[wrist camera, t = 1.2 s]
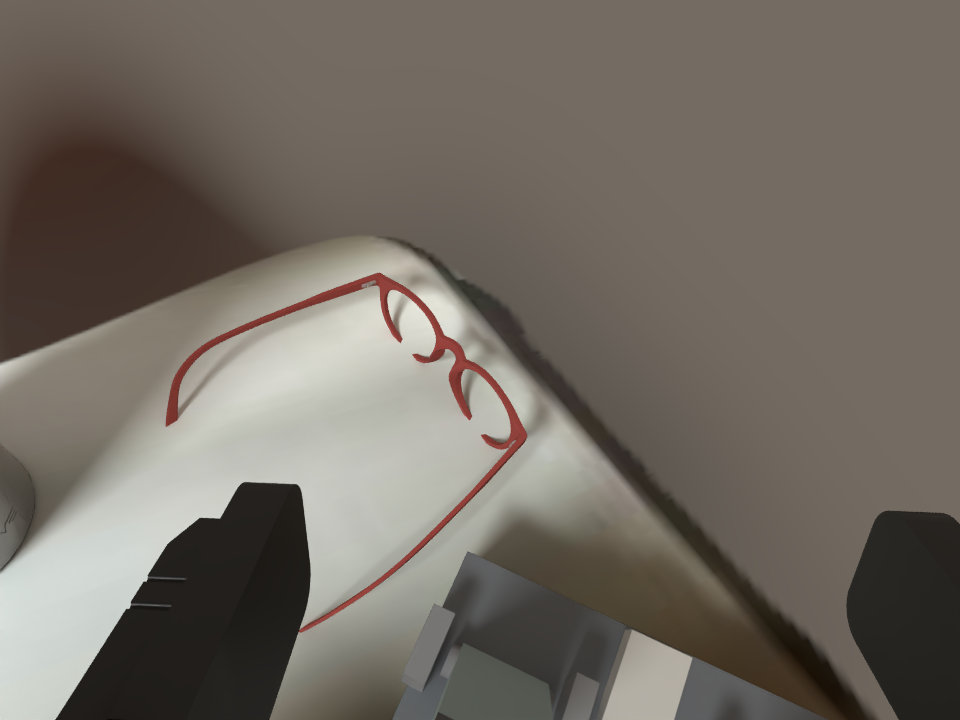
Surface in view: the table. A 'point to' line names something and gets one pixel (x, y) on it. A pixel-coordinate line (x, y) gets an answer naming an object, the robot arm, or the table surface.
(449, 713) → the teal lever
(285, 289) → the table surface
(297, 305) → the red eyeglasses
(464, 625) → the console
